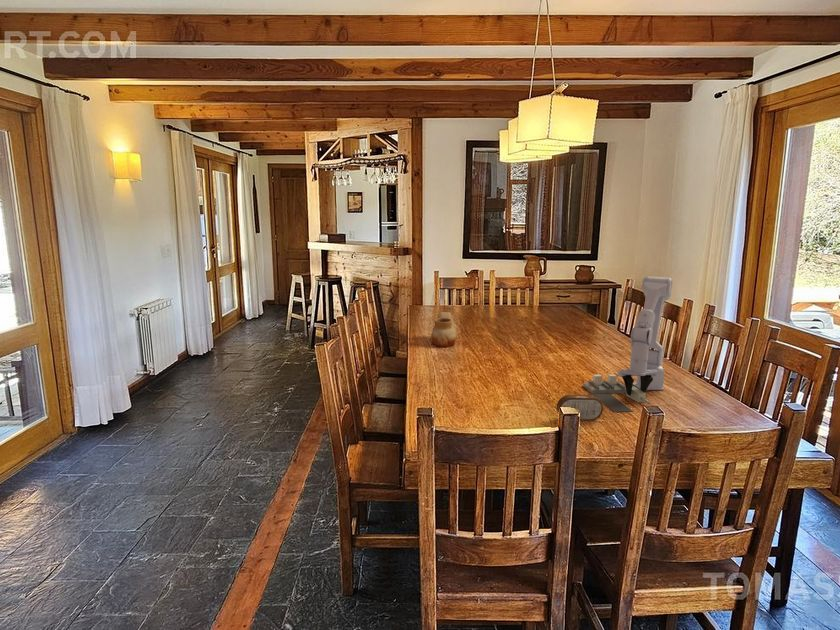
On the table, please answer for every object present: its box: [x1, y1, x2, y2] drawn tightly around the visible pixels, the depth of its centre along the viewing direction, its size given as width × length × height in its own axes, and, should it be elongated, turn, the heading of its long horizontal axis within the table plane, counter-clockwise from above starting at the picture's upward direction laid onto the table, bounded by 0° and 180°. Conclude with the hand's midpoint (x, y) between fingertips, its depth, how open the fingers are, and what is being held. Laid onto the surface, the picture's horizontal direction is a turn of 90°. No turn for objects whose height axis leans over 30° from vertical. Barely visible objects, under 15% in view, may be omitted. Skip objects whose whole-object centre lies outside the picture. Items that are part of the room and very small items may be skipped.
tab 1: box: [591, 374, 603, 385], centre depth 203 cm, size 3×2×4 cm
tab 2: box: [606, 374, 618, 385], centre depth 204 cm, size 3×2×4 cm
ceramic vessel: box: [430, 311, 459, 349], centre depth 274 cm, size 14×26×15 cm, turn 175°
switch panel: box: [582, 379, 626, 395], centre depth 202 cm, size 15×9×2 cm, turn 95°
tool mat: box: [592, 393, 634, 413], centre depth 188 cm, size 7×18×1 cm, turn 5°
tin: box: [556, 394, 604, 422], centre depth 171 cm, size 15×3×8 cm, turn 92°
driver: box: [625, 385, 652, 405], centre depth 190 cm, size 3×13×4 cm, turn 9°
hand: (635, 394), depth 192 cm, fingers open, 5 cm apart
